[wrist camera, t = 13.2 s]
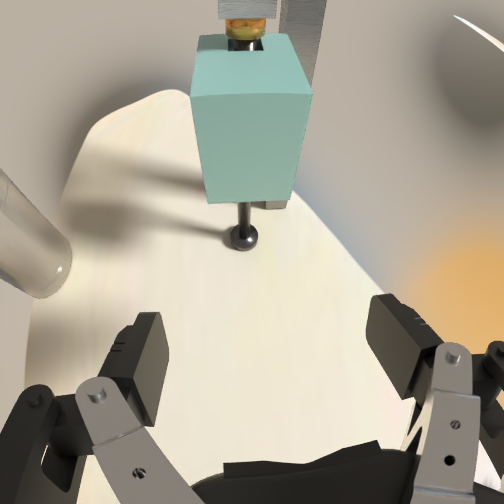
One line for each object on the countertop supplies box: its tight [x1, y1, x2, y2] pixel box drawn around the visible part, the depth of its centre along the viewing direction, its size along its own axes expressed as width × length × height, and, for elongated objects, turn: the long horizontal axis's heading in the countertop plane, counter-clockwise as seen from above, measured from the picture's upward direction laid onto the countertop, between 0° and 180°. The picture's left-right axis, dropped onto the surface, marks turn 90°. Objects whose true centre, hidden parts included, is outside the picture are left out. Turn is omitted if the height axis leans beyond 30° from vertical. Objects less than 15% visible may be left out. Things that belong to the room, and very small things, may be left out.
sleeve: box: [190, 33, 313, 204], centre depth 16 cm, size 7×5×8 cm
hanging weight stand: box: [218, 0, 327, 251], centre depth 19 cm, size 8×7×35 cm
